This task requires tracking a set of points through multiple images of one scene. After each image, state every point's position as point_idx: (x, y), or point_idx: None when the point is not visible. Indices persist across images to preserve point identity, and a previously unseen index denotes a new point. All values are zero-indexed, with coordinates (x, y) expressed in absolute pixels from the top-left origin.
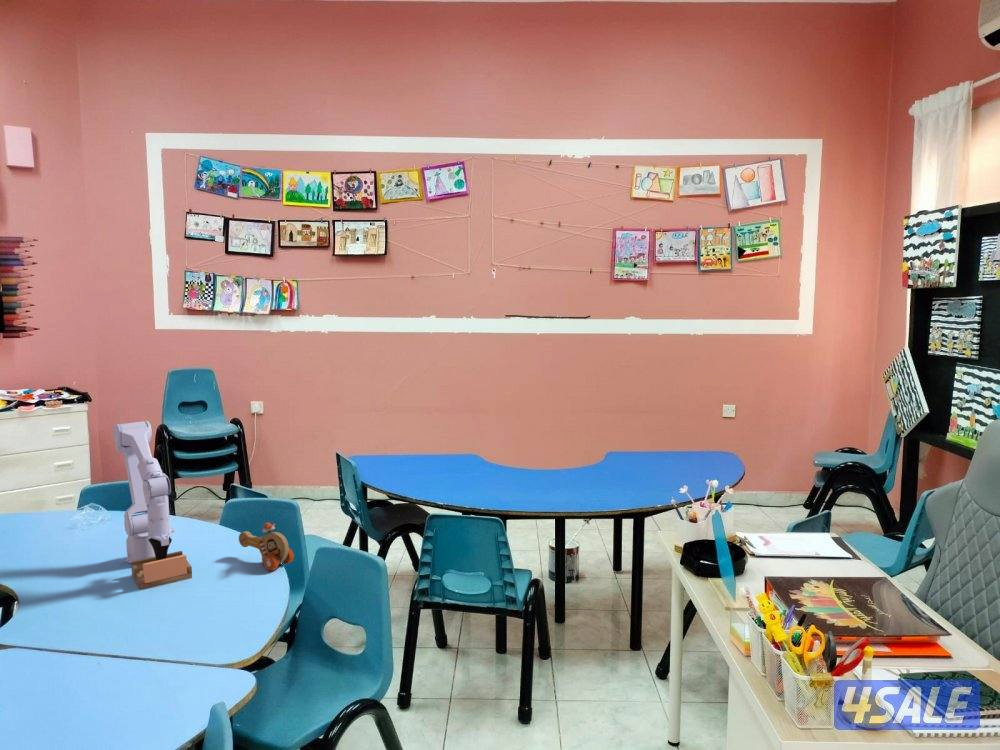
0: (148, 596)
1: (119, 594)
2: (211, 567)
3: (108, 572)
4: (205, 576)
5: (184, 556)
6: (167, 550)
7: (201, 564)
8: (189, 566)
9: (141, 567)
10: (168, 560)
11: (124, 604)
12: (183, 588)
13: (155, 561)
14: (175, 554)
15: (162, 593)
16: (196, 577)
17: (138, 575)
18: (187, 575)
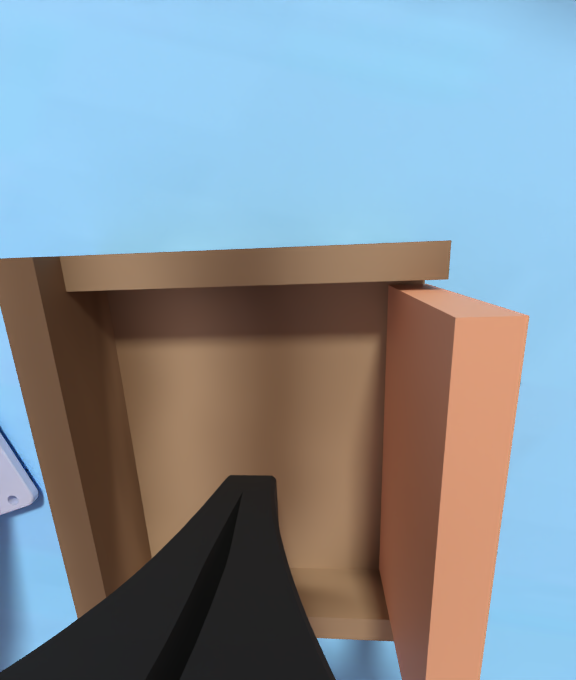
0: (526, 540)
1: (379, 641)
2: (282, 33)
3: (31, 627)
4: (457, 134)
5: (520, 341)
6: (290, 574)
7: (162, 108)
8: (433, 260)
9: (137, 555)
10: (490, 540)
11: (538, 647)
12: (571, 341)
13: (444, 667)
14: (58, 330)
15: (545, 470)
16: (426, 209)
17: (351, 634)
18: (421, 281)
